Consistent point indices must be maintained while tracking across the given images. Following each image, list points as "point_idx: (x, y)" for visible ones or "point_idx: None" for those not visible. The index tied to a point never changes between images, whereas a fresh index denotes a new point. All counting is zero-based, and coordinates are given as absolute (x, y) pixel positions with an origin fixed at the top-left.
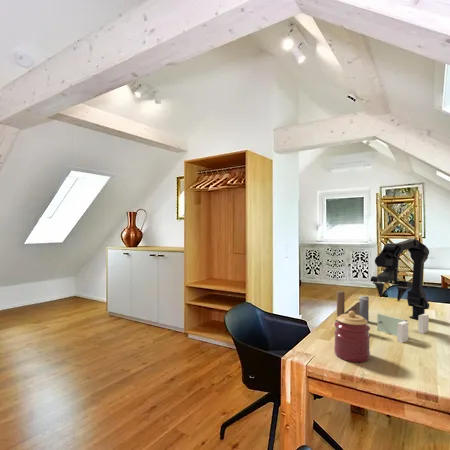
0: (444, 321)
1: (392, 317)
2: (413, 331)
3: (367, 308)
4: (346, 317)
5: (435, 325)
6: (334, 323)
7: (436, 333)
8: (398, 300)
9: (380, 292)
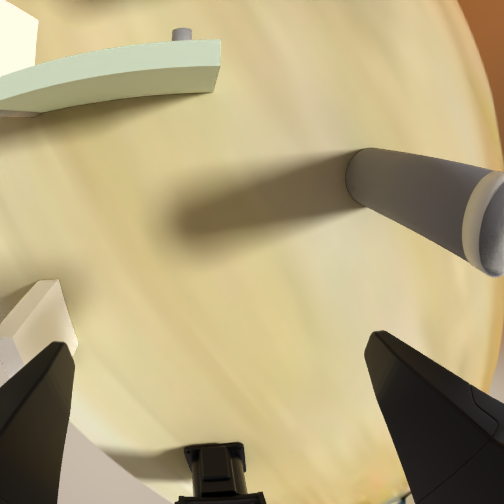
0: (143, 481)
1: (53, 63)
2: (78, 271)
3: (405, 191)
4: None
5: (115, 433)
6: None
7: None
8: (49, 344)
9: (412, 383)
